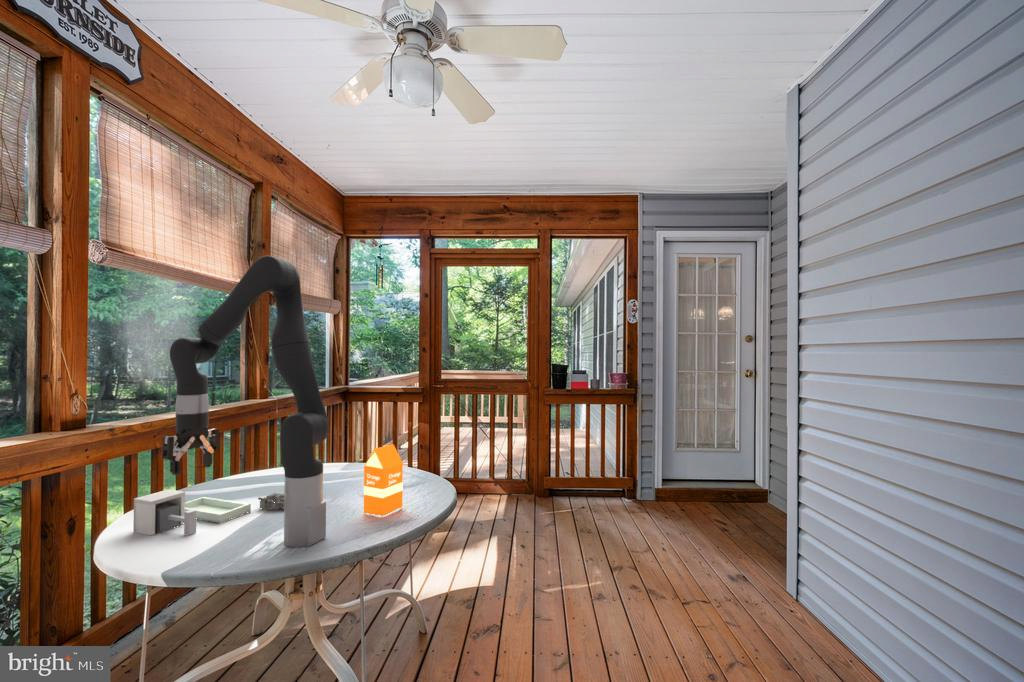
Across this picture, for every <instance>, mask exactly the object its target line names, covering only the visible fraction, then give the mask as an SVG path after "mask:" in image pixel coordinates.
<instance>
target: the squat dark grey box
mask: <svg viewBox="0 0 1024 682" xmlns="http://www.w3.org/2000/svg"><path fill="white" fill-rule="evenodd" d="M179 522H184V524H183V525H184V526H183V535H184V534H186V535H185V536H190V535H194V534H196V533H197V519H196V510H189V511H186V512H184V517H183V516H179V505H176V504H169V503H161V504H158V505H155V533H156V534H157V533H158V534H162V533H164V531H165V532H167V530H168V531H170V530H172V528H173V529H175V528H174V527H176V528H178V527H177V526H180V525H179Z"/></svg>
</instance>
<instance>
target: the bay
mask: <svg viewBox="0 0 1024 682" xmlns="http://www.w3.org/2000/svg"><path fill="white" fill-rule="evenodd" d="M185 502H186V492H185V491H181V490H175V489H170V488H169V489H165V490H160V491H158V492H155V493H150V494H146V495H142V496H140V497H139V496H138V497H135V498H133V529H132V530H133V533H135V534H136V533H137V534H142V535H146V534H147V535H146V536H154V535H155V534H156V532H155V505H158V504H161V503H169V504H176V505H179V516H183V517H184V512H185ZM183 523H184V522H179V524H182V525H184V524H183Z"/></svg>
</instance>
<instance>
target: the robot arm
mask: <svg viewBox="0 0 1024 682" xmlns="http://www.w3.org/2000/svg"><path fill="white" fill-rule="evenodd" d="M266 292H271V293H272V294H273V297H274V301H275V306H276V320H275V324H274V327H273V331H272V334H271V339H270V340H271V351H272V355H273V361H274V364H275V367H276V370H277V371H278V373H279V376H280V377H281V379H283V381H284V382H285V383H286V385H287V386H288V388H289V389H290V391H291V393H292V394H293V396H294V401H295V403H296V409H297V413H293V414H291V415H288V416H287V417H286V418H285V419H284V420H283V422H282V424H281V426H280V434H279V439H280V440H279V441H280V459H281V464H282V468H283V470H284V471H283V472H284V488H283V489H284V493H283V494H284V510H283V514H284V515H283V518H284V519H283V543H284V546H287V547H291V548H297V547H298V548H299V547H308V546H309V547H310V545H311V546H312V544H313V545H314V543H315V544H317V543H319V542H320V541H322V540H324V539H326V538H325V537H327V536H326V534H327V532H326V531H327V502H326V501H324V463H323V461H322V460H321V459H318V458H315V454H314V453H315V452H314V446H316V445H319V444H321V443H323V442H324V441H325V440H326V439H327V437H328V435H329V432H330V422H329V418H328V417H329V416H328V415H327V412H326V408H325V405H324V403H323V402H324V401H323V398H322V394H321V392H320V388H319V383H318V380H317V374H316V371H315V365H314V361H313V354H312V349H311V344H310V343H311V342H310V339H309V335H308V329H307V325H306V319H305V313H304V309H303V300H302V287H301V278H300V273H299V271H298V268H297V267H296V265H295V264H293V262H290V261H289V260H286V259H283V258H279V257H276V256H273V255H272V256H271V255H263V256H260V257H259V258H256V260H255V261H253V263H252V264H251V265H250V267H249V268H248V269H247V271H246V272H245V273H244V275H243V276H242V277H241V279H240V280H239V281H238V283H237V284H236V285H235V287H234V288H233V290H232V291H231V292H230V293H229V295H228V296H227V298H225V299H224V301H223V302H222V303H221V304H220V305H219V306H218V307H217V308H216V309H214V311H213V312H212V313H211V314H210V315H208V316H207V317H206V319H204V320H203V321H202V322H201V324H200V325H199V326H198V333H199V335H200V336H199V337H180V338H177V339H176V340H174V341H173V342H172V344H171V346H170V348H169V359H170V363H171V366H172V370H173V372H174V375H175V378H176V400H175V421H174V423H175V424H174V425H175V431H176V434H175V435H173V436H168V435H164V436H163V437H162V450H161V459H162V460H168V461H169V469H170V470H169V471H170V473H171V474H172V475H174V476H179V475H181V460H180V459H181V458H182V456H183V455H184V454H186V453H187V451H189V450H193V449H198V448H200V449H201V450H202V452H203V454H202V466H203V467H204V468H211V467H212V464H213V453H214V452H215V451H219V450H220V448H221V446H220V444H221V442H220V430H219V429H218V428H208V427H209V426H210V416H209V415H210V410H209V409H210V401H209V380H208V379H209V377H208V375H207V374H206V373H204V372H202V371H201V372H200V371H198V367H197V364H205V363H207V362H209V361H211V360H212V359H213V358H214V357H216V355H217V354H218V352H219V350H220V349H221V347H222V345H223V343H224V342H225V340H226V339H228V338H229V337H230V336H231V335H232V334H233V333H234V332H235V331H236V330H237V329H239V327H240V326H241V325H242V324H243V322H244V320H245V318H246V315H247V312H248V310H249V308H250V306H251V304H252V303H253V302H254V301H255V300H257V298H258V297H259V298H260V296H261V295H263V294H264V293H266ZM208 437H209V441H208V440H207V438H208ZM175 444H176V445H175ZM323 538H324V539H323ZM321 539H322V540H321ZM319 540H320V541H319ZM316 542H317V543H316Z"/></svg>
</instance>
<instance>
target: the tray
mask: <svg viewBox="0 0 1024 682" xmlns="http://www.w3.org/2000/svg"><path fill="white" fill-rule="evenodd" d="M251 506H252V505H251V503H247V502H241V501H235V500H227V499H226V500H225V499H222V498H220V499H219V498H214V497H208V496H207V497H206V496H201V497H199V498H195V499H192V500H188V501H185V512H186V511H189V510H196V518H197V519H201V520H200V521H202V520H207V521H206V522H208V521H212V522H211V523H214V522H217V523H216V524H220V523H221V524H223V523H225V522H224V521H226V522H228V521H230V520H229V519H231V518H234V517H236V518H238V517H237V516H239V517H241V516H240V515H242V514H244V515H246V514H245V513H247V512H250V511H252V508H251ZM250 513H251V512H250ZM247 514H248V513H247ZM242 516H243V515H242ZM197 519H196V520H197ZM234 519H235V518H234ZM227 520H228V521H227ZM231 520H232V519H231ZM222 522H223V523H222Z"/></svg>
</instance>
